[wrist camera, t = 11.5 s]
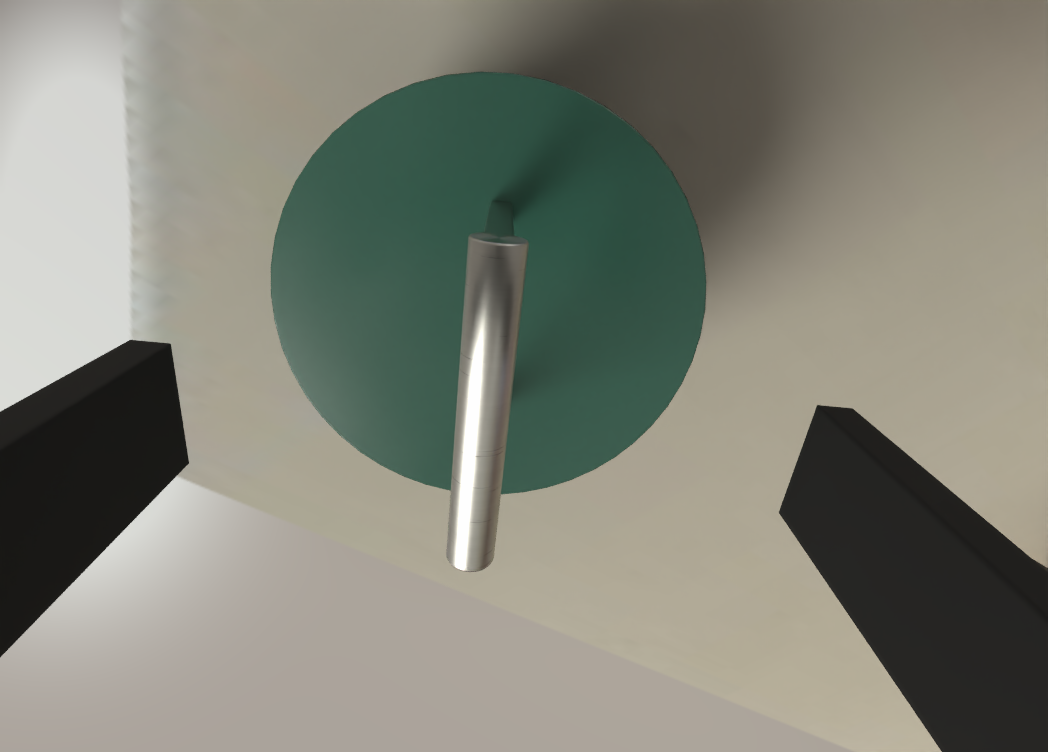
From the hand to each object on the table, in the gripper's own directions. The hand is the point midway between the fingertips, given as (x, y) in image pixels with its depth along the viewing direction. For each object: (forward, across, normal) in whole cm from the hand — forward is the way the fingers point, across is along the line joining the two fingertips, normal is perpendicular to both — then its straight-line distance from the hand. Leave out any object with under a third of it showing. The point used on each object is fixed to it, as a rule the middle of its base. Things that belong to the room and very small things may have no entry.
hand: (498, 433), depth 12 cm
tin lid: (+9, 0, 0) cm, 9 cm away
